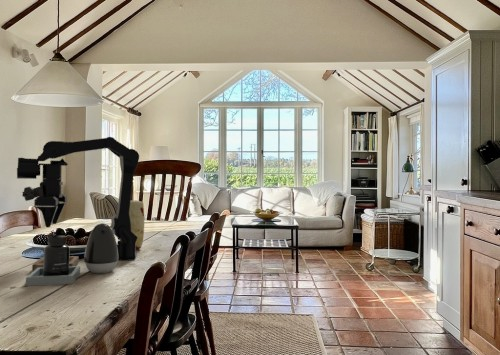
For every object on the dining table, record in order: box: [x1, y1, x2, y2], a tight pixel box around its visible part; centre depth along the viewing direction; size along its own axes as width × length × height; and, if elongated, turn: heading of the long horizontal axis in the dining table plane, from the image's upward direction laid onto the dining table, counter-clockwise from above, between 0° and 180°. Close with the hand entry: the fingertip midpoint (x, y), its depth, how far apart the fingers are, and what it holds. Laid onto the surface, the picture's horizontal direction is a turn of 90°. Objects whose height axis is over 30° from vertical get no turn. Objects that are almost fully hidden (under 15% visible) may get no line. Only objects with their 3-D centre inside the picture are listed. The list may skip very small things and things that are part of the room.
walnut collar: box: [31, 255, 80, 273], centre depth 133 cm, size 11×11×2 cm
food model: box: [129, 199, 145, 251], centre depth 166 cm, size 10×7×20 cm
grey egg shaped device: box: [83, 222, 120, 275], centre depth 129 cm, size 10×10×15 cm
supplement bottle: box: [43, 235, 71, 276], centre depth 119 cm, size 7×7×12 cm
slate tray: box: [25, 265, 81, 287], centre depth 119 cm, size 12×12×2 cm
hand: (51, 225), depth 138 cm, fingers open, 9 cm apart
